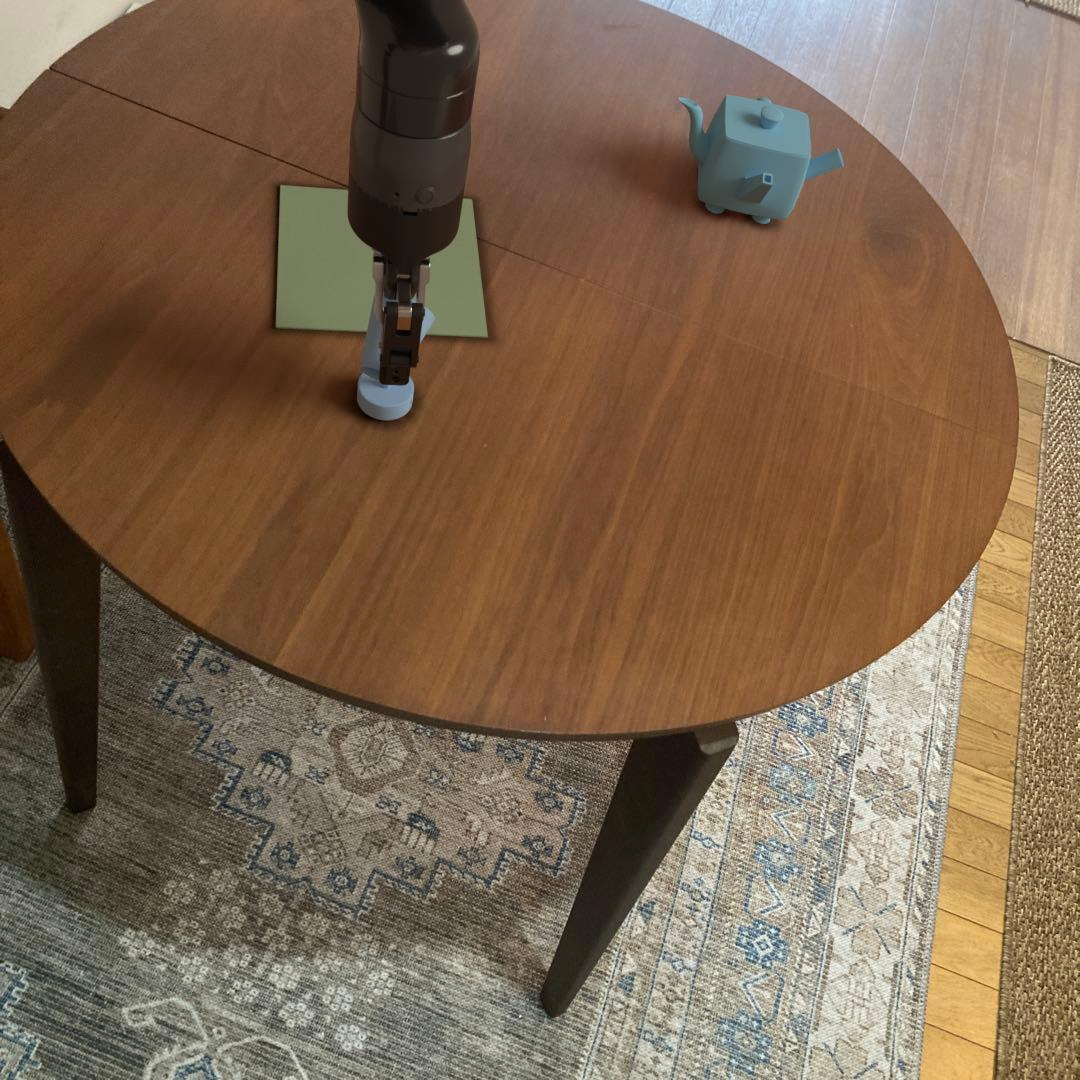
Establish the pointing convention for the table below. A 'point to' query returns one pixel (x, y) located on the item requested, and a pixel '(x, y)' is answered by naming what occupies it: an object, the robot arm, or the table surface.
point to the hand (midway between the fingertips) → (392, 344)
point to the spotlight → (370, 392)
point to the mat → (363, 270)
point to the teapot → (754, 157)
